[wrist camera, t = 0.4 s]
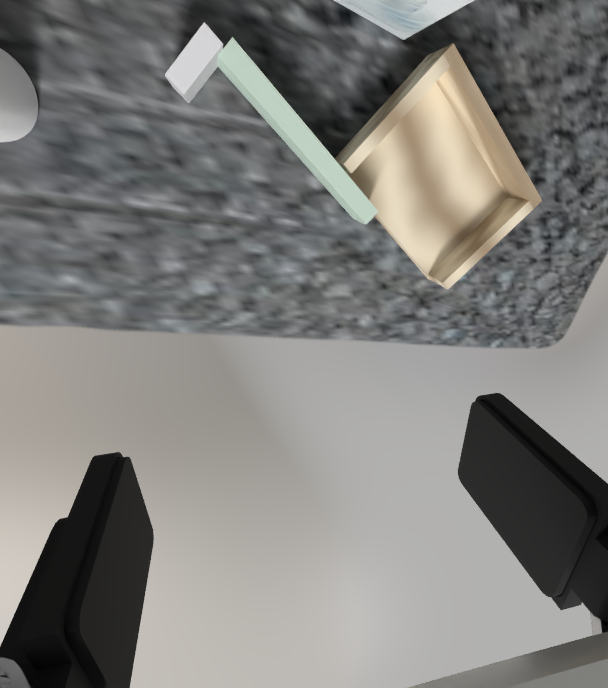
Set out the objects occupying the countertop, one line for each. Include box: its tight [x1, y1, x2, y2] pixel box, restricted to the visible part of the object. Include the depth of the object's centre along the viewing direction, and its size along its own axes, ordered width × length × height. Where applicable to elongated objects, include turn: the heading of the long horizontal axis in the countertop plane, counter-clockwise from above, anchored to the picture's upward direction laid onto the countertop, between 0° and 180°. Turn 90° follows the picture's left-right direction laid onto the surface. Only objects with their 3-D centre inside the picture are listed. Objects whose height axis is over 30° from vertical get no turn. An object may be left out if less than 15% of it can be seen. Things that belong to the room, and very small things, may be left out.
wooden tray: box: [335, 43, 542, 289], centre depth 35 cm, size 12×16×4 cm
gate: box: [165, 22, 379, 224], centre depth 30 cm, size 5×18×5 cm, turn 45°
